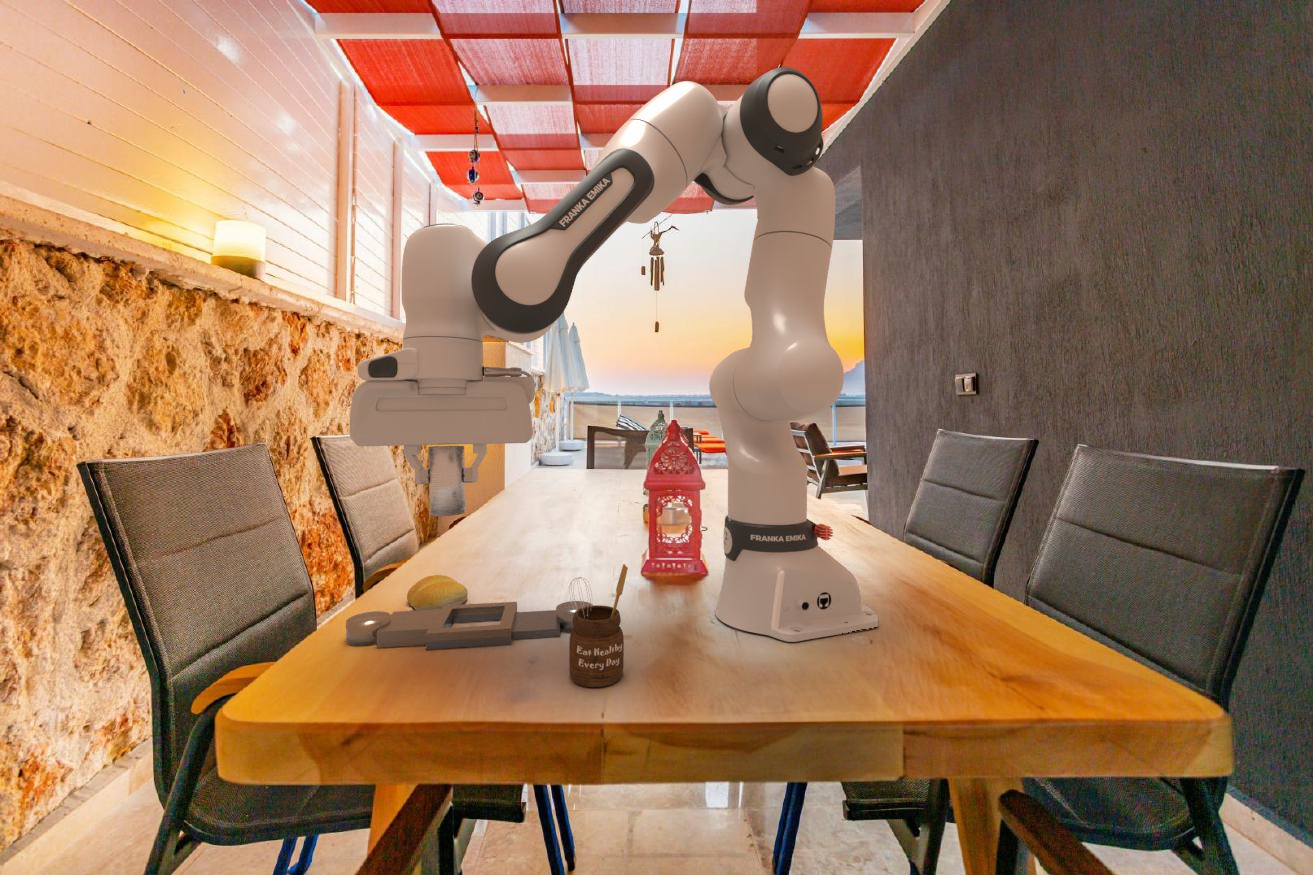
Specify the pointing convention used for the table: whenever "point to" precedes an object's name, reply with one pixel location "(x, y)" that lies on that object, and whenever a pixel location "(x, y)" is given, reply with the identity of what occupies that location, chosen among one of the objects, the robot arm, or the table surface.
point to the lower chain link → (517, 626)
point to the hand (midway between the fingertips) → (447, 483)
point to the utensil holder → (597, 642)
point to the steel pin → (446, 480)
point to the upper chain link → (426, 625)
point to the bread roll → (436, 593)
